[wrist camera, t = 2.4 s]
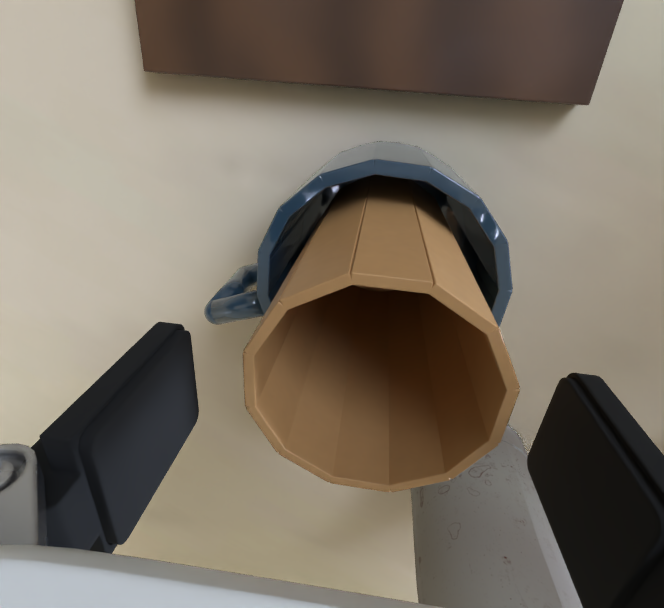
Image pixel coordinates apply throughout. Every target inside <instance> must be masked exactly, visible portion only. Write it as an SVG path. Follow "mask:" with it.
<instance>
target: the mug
mask: <svg viewBox="0 0 664 608" xmlns="http://www.w3.org/2000/svg"><path fill="white" fill-rule="evenodd" d="M372 175H381V176H388V177H395V178H402V179H410V180H412V181H414V182H415V183H416V184H417V185H419V186H420V187H421V188H423V189H424V190H425V191H427V192H428V193H429V194H431V195H432V196H433V197H434V198H435V199H436V201H437V203H438V205H439V207H440V209H441V211H442V213H443V215H444V217H445V219H446V221H447V223H448V225H449V227H450V229H451V231H452V233H453V235H454V237H455V239H456V241H457V243H458V245H459V248H460V250H461V252H462V254H463V256H464V258H465V260H466V262H467V264H468V266H469V268H470V270H471V272H472V274H473V276H474V278H475V280H476V282H477V284H478V286H479V288H480V290H481V292H482V294H483V296H484V298H485V300H486V302H487V304H488V306H489V308H490V310H491V312H492V314H493V317H494V319H495V321H496V323H497V325H498V327H499V326H500V324H501V321H502V318H503V315H504V313H505V310H506V307H507V305H508V302H509V299H510V296H511V294H512V289H513V287H512V277H511V266H510V256H509V246H508V242H507V239H506V237H505V236H504V234H503V232H502V231H501V229H500V228H499V226H498V224H497V223H496V221H495V220H494V218H493V216H492V215H491V213H490V212H489V210H488V208H487V207H486V205H485V204H484V202H483V201H482V199H481V198H480V197H479V196H478V195H477V194H476V192H475V191H474V190H473V189H472V188H471V187H470V186H469V185H468V184H467V183H466V182H465V181H464V180H463V179H462V178H461V177H460V176H459V175H458V174H457V173H456V172H455V171H454V170H453V169H452V168H451V167H450V166H449V165H447V164H445V163H444V162H442V161H441V160H439V159H438V158H437V157H435V156H434V155H432V154H430V153H428V152H426V151H425V150H423V149H422V148H420V147H418V146H413V145H408V144H403V143H398V142H383V141H379V142H378V141H377V142H373V143H369V144H364V145H360V146H357V147H354V148H352V149H349V150H346V151H342V152H341V153H339V154H338V155H336V156H335V157H334V158H333V159H332V160H330V161H329V162H328V163H327V164H326V165H324V166H323V167H322V168H321V169H320V170H318V171H317V172H316V173H315V174H314V175H312V176H311V177H310V178H309V179H308V180H307V181H306V182H305V183H304V184H303V185H302V186H301V187H300V188H299V189H298V190H297V191H296V192H295V193H294V194H293V195H292V196H291V197H289V198H288V199H287V200H286V201H285V202H284V203H283V204H282V205H281V206H280V208H279V209H278V210H277V212H276V215H275V217H274V219H273V221H272V223H271V225H270V227H269V229H268V231H267V233H266V235H265V237H264V239H263V241H262V243H261V245H260V247H259V249H258V263H255V264H251V265H247V266H243V267H241V268H239V269H238V270H237V271H236V272H235V273H234V275H233V276H232V277H231V278H230V279H229V280H228V281H227V282H226V283H225V285H224V286H223V287H222V288H221V289H220V290H219V291H218V292H217V293H216V295H215V296H214V297H213V298H212V299H211V300H210V301H209V302H208V304H207V305H206V307H205V310H204V313H205V317H206V319H207V320H208V321H209V322H211V323H212V324H216V325H219V324H225V323H230V322H235V321H240V320H245V319H250V318H255V317H260V316H264V314H265V313H266V311H267V309H268V308H269V306H270V304H271V302H272V301H273V299H274V297H275V296H276V294H277V292H278V290H279V289H280V287H281V285H282V284H283V282H284V280H285V278H286V277H287V275H288V273H289V272H290V270H291V268H292V266H293V265H294V263H295V261H296V260H297V258H298V256H299V254H300V253H301V251H302V249H303V248H304V246H305V244H306V242H307V241H308V239H309V237H310V236H311V234H312V232H313V230H314V229H315V227H316V225H317V223H318V222H319V220H320V218H321V217H322V215H323V213H324V212H325V211H326V209H327V208H328V206H329V205H330V203H331V202H332V200H333V199H334V197H335V196H336V194H337V193H338V191H339V190H340V189H341V188H343V187H345V186H347V185H349V184H351V183H353V182H355V181H357V180H360V179H362V178H364V177H368V176H372ZM253 286H257V290H254V291H250V290H251V288H252V287H253ZM249 291H250V292H249Z"/></svg>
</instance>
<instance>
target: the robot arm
mask: <svg viewBox="0 0 664 608" xmlns="http://www.w3.org/2000/svg"><path fill="white" fill-rule="evenodd" d="M198 414H199V407H198V398H197V389H196V380H195V371H194V362H193V353H192V343H191V335H190V333H189V331H185V329H184V327H183V326H182V325H181V324H174V323H165V322H158V323H157V324H155V325H154V326H153V327H152V328H151V329H150V330H149V331H148V332H147V333H146V334H145V335H144V336H143V337H142V338H141V339H140V340H139V341H138V342H137V343H136V344H135V345H134V346H132V347H131V348H130V349H129V350H128V351H127V352H126V353H125V354H124V355H123V356H122V357H121V358H120V359H119V360H118V361H117V362H116V363H115V364H114V365H113V366H112V367H111V368H110V369H109V370H108V371H106V372H105V373H104V374H103V375H102V376H101V377H100V378H99V379H98V380H97V381H96V382H95V383H94V384H93V385H92V386H91V387H90V388H89V389H88V390H87V391H86V392H85V393H84V394H83V395H82V396H80V397H79V398H78V399H77V400H76V401H75V402H74V403H73V404H72V405H71V406H70V407H69V408H68V409H67V410H66V411H65V412H64V413H63V414H62V415H61V416H60V417H59V418H58V419H57V420H55V421H54V422H53V423H52V424H51V425H50V426H49V427H48V428H47V429H46V430H45V431H44V432H43V433H42V434H41V435H40V439H39V440H38V441H37V442H36V443H35V444H34V445H33V446H32V447H31V448H30V447H28V446H26V445H22V444H3V445H0V608H443V607H437V606H431V605H425V604H419V603H414V602H408V601H402V600H396V599H390V598H384V597H378V596H372V595H366V594H360V593H354V592H348V591H342V590H336V589H330V588H324V587H318V586H312V585H306V584H300V583H294V582H288V581H282V580H276V579H270V578H264V577H257V576H251V575H245V574H239V573H233V572H227V571H220V570H214V569H208V568H202V567H196V566H189V565H183V564H177V563H171V562H165V561H159V560H152V559H145V558H138V557H131V556H124V555H117V554H112V552H113V551H114V549H115V547H116V546H117V544H119V545H122V544H123V543H124V542H125V541H126V540H127V539H128V537H129V536H130V534H131V532H132V531H133V529H134V527H135V526H136V524H137V522H138V521H139V519H140V517H141V515H142V514H143V512H144V510H145V509H146V507H147V505H148V504H149V502H150V500H151V499H152V497H153V495H154V493H155V492H156V490H157V488H158V487H159V485H160V483H161V482H162V480H163V478H164V476H165V475H166V473H167V471H168V470H169V468H170V466H171V465H172V463H173V461H174V459H175V458H176V456H177V454H178V453H179V451H180V449H181V448H182V446H183V444H184V443H185V441H186V439H187V437H188V436H189V434H190V432H191V431H192V429H193V427H194V426H195V424H196V422H197V419H198ZM527 467H528V471H529V474H530V476H531V479H532V481H533V484H534V486H535V489H536V491H537V494H538V496H539V499H540V501H541V504H542V506H543V509H544V511H545V514H546V516H547V519H548V521H549V524H550V526H551V529H552V531H553V534H554V537H555V539H556V542H557V544H558V547H559V549H560V552H561V554H562V557H563V559H564V562H565V564H566V567H567V569H568V572H569V574H570V577H571V579H572V582H573V584H574V587H575V589H576V592H577V594H578V597H579V599H580V602H581V604H582V607H583V608H664V455H663V454H662V453H661V452H660V450H659V449H658V448H657V447H656V445H655V444H654V443H653V442H652V440H651V439H650V438H649V437H648V435H647V434H646V433H645V432H644V430H643V429H642V428H641V427H640V425H639V424H638V423H637V422H636V420H635V419H634V418H633V417H632V415H631V414H630V413H629V412H628V410H627V409H626V408H625V407H624V405H623V404H622V403H621V402H620V401H619V399H618V398H617V397H616V396H615V394H614V393H613V392H612V391H611V389H610V388H609V387H608V386H607V384H606V383H605V382H604V381H603V379H602V378H600V377H599V376H595V375H587V374H579V373H571V374H569V375H568V376H567V378H562V379H561V380H560V381H559V383H558V385H557V387H556V390H555V392H554V395H553V397H552V399H551V402H550V404H549V407H548V409H547V411H546V414H545V416H544V418H543V421H542V423H541V426H540V428H539V430H538V433H537V435H536V438H535V440H534V442H533V445H532V447H531V449H530V452H529V454H528V458H527Z"/></svg>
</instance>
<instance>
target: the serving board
mask: <svg viewBox="0 0 664 608" xmlns="http://www.w3.org/2000/svg"><path fill="white" fill-rule="evenodd" d="M623 1H624V0H135V6H136V13H137V21H138V29H139V36H140V44H141V52H142V59H143V67H144V71H147V72H154V73H165V74H178V75H191V76H204V77H218V78H231V79H244V80H257V81H270V82H283V83H296V84H309V85H322V86H335V87H348V88H361V89H374V90H387V91H400V92H413V93H426V94H439V95H452V96H465V97H479V98H492V99H505V100H518V101H531V102H544V103H557V104H570V105H589V103H590V100H591V97H592V94H593V91H594V88H595V85H596V82H597V79H598V76H599V73H600V70H601V67H602V64H603V61H604V58H605V55H606V52H607V49H608V46H609V43H610V40H611V37H612V34H613V31H614V28H615V25H616V22H617V19H618V16H619V13H620V10H621V7H622V4H623Z"/></svg>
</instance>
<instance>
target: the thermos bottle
mask: <svg viewBox="0 0 664 608" xmlns="http://www.w3.org/2000/svg"><path fill="white" fill-rule="evenodd" d="M498 444H499V445H498V446H497V447H495V448H494V449H493V450H491V451H490V452H489V453H487V454H486V455H485V456H483V457H482V458H481V459H479V460H478V461H476V462H475V463H474V464H472V465H471V466H470V467H468V468H467V469H466V470H464V471H463V472H462V473H460V474H459V475H457V476H456V477H455V478H453V479H451V478H450V480H449V481H444V482H439V483H434V484H430V485H425V486H420V487H415V488H411V499H412V514H413V533H414V550H415V567H416V581H417V592H418V601H419V604H425V605H431V606H437V607H443V608H583V607H582V604H581V602H580V599H579V597H578V594H577V592H576V589H575V587H574V584H573V582H572V579H571V577H570V574H569V572H568V569H567V567H566V564H565V562H564V559H563V557H562V554H561V552H560V549H559V547H558V544H557V542H556V539H555V537H554V534H553V531H552V529H551V526H550V524H549V521H548V519H547V516H546V514H545V511H544V509H543V506H542V504H541V501H540V499H539V496H538V494H537V491H536V489H535V486H534V484H533V481H532V479H531V476H530V474H529V471H528V467H527V458H528V455H527V452H526V450H525V447H524V445H523V443H522V440H521V438H520V437H519V436H518V434H517V433H516V432H515V431H514V430H513V429H512V428H510V427H509V426H508V425H507V426H506V429H505V432H504V434H503V437H502V440H501V442H500V443H498Z"/></svg>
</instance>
